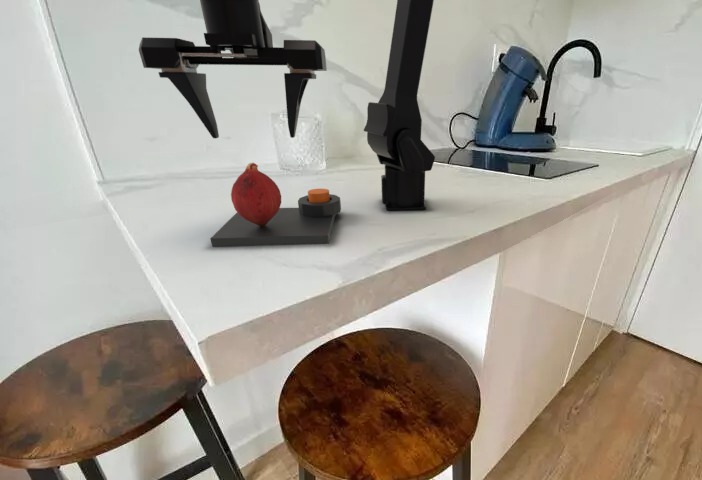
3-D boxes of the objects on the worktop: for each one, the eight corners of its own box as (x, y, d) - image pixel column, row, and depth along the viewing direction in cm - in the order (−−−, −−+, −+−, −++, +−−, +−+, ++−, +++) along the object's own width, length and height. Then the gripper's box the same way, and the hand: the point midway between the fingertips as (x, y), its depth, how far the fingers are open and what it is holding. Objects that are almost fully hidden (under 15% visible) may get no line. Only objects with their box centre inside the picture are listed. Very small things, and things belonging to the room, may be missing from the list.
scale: (342, 212, 57) (341, 193, 56) (336, 244, 46) (334, 221, 44) (244, 214, 56) (239, 195, 54) (212, 247, 45) (206, 224, 43)
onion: (270, 235, 45) (258, 169, 41) (228, 231, 46) (212, 166, 42) (292, 220, 50) (283, 160, 46) (254, 217, 51) (242, 158, 47)
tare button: (330, 198, 55) (329, 188, 54) (329, 204, 52) (328, 193, 51) (310, 198, 54) (309, 188, 54) (307, 204, 52) (306, 193, 51)
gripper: (323, -4, 46) (335, 129, 53) (166, -9, 44) (200, 130, 51) (313, -27, 36) (329, 140, 44) (110, -35, 34) (163, 142, 42)
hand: (254, 137), depth 45 cm, fingers open, 9 cm apart
